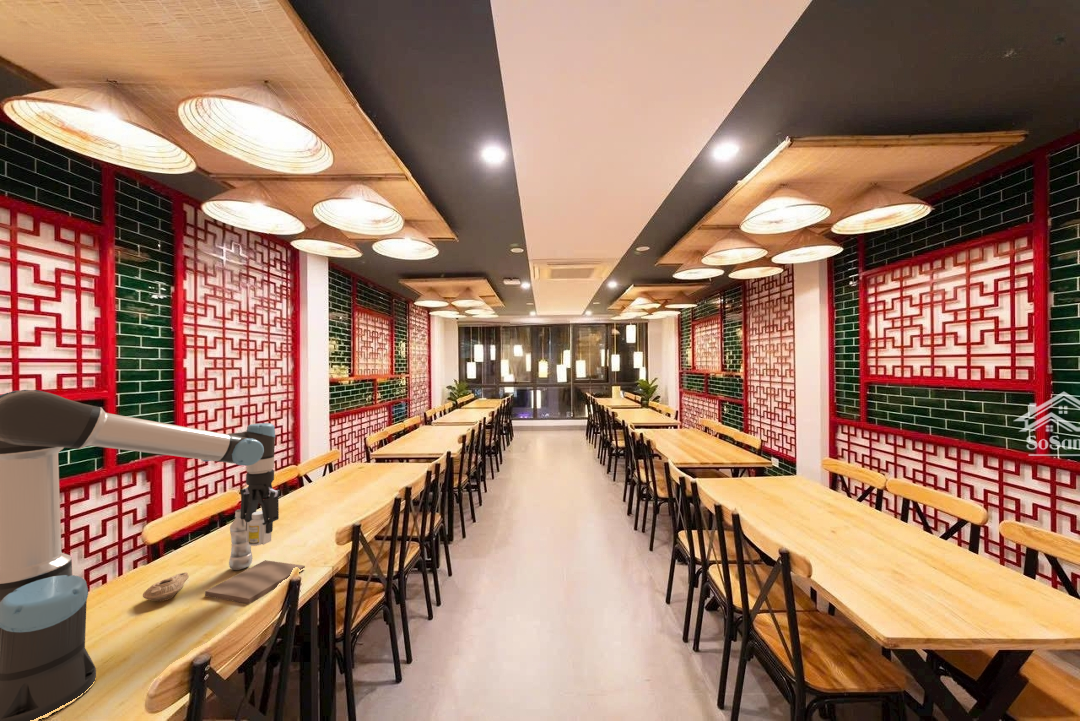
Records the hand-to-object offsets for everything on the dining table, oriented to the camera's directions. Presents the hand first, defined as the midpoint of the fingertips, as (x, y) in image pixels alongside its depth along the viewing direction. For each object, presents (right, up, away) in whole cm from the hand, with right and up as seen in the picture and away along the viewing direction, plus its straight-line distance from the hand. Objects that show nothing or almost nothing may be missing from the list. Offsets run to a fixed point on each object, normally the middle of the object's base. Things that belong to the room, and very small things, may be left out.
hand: (259, 541), depth 126 cm
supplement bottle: (0, -1, 0) cm, 1 cm away
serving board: (0, -13, 0) cm, 13 cm away
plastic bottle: (-13, -14, +9) cm, 21 cm away
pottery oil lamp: (-22, -13, -7) cm, 27 cm away
